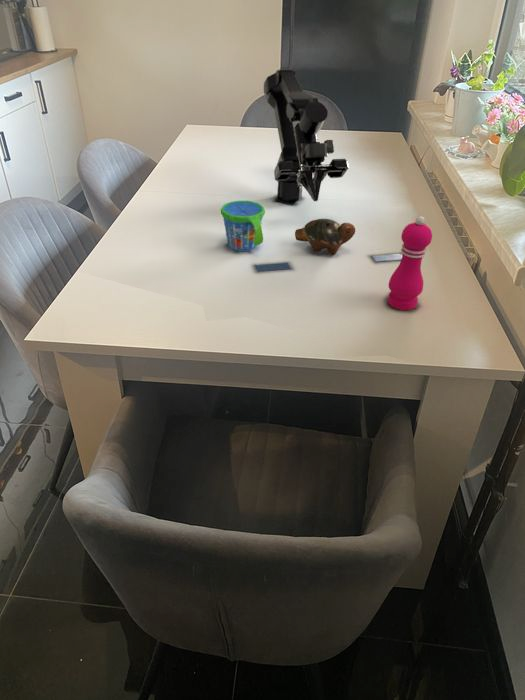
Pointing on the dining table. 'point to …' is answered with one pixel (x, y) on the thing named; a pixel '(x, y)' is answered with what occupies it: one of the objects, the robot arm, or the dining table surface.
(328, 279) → the dining table surface
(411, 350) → the dining table surface
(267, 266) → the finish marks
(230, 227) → the snack cup
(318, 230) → the decorative turtle
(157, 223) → the dining table surface
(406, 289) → the pepper mill
